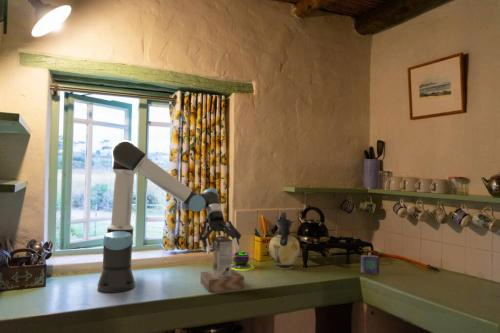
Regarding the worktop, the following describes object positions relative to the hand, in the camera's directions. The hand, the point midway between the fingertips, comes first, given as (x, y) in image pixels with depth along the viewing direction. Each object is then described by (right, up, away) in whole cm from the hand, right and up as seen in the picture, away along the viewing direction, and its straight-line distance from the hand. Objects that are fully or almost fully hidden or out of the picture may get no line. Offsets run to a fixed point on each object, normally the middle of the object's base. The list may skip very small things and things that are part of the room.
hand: (223, 251), depth 160 cm
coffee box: (-1, -10, 0) cm, 10 cm away
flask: (+75, -18, +26) cm, 81 cm away
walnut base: (-1, -15, -1) cm, 15 cm away
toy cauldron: (+7, -17, +34) cm, 39 cm away
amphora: (+31, -17, +36) cm, 50 cm away
